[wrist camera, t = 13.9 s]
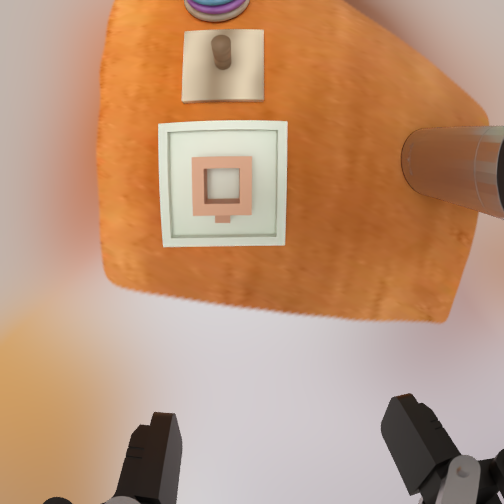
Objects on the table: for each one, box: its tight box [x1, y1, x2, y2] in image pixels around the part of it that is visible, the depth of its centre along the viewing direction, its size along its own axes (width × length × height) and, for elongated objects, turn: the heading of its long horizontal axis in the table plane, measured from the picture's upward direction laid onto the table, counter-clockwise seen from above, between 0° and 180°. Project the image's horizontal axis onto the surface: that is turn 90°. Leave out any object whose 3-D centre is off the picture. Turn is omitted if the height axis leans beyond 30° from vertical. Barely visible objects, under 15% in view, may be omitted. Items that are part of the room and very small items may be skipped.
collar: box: [192, 156, 252, 223], centre depth 32 cm, size 6×7×4 cm
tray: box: [158, 120, 287, 247], centre depth 33 cm, size 14×14×2 cm
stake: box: [182, 29, 264, 104], centre depth 26 cm, size 9×9×8 cm
